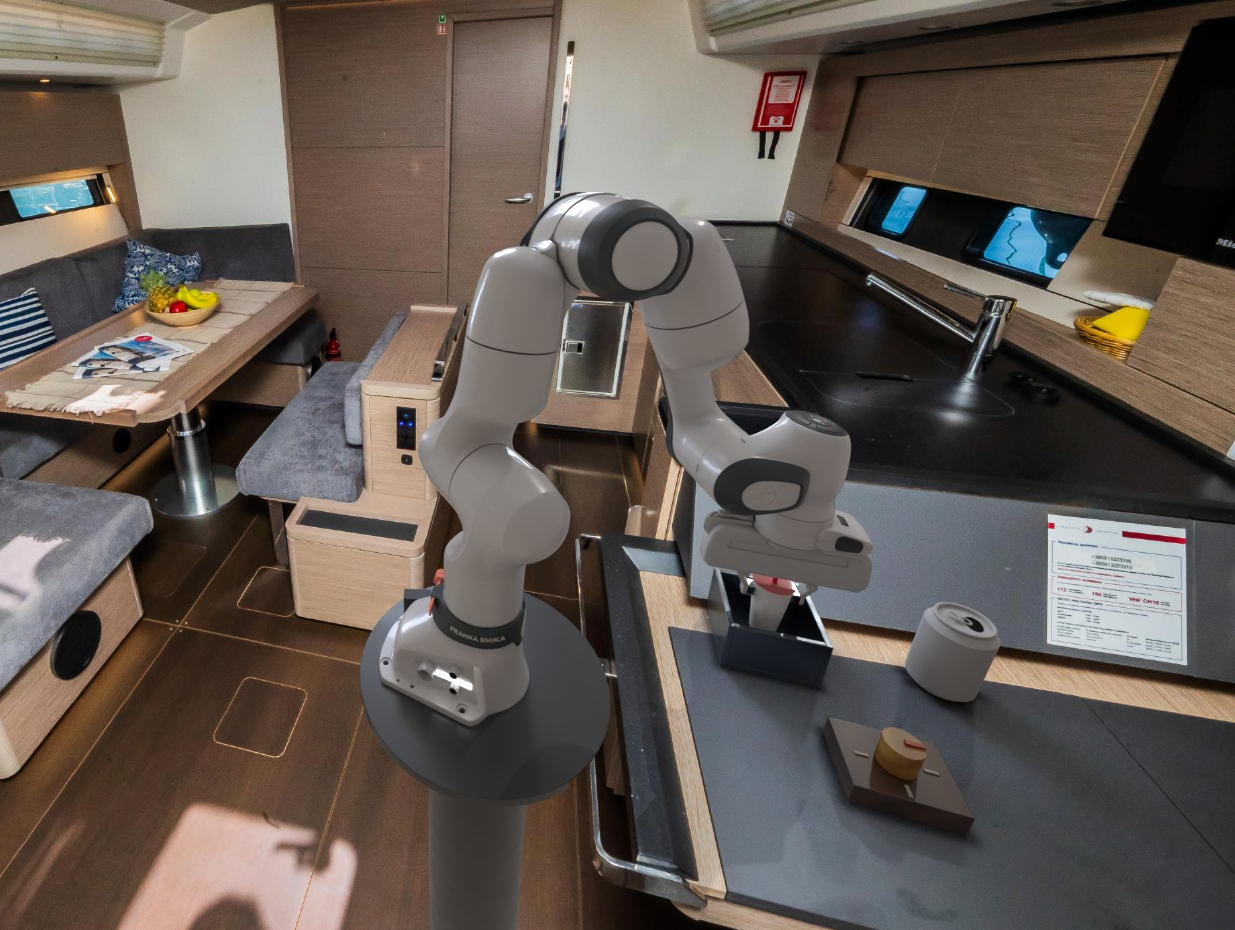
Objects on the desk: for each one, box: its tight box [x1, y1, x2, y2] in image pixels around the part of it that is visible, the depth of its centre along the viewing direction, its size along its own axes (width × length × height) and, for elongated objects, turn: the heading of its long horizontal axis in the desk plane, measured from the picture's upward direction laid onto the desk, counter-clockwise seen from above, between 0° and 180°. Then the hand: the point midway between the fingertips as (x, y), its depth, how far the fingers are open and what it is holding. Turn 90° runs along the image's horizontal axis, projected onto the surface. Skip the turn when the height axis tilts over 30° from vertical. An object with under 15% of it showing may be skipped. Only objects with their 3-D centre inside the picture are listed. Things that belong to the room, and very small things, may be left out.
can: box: [904, 601, 1002, 703], centre depth 79 cm, size 8×8×12 cm
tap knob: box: [874, 726, 927, 780], centre depth 68 cm, size 4×4×4 cm
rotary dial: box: [822, 716, 976, 836], centre depth 69 cm, size 11×9×3 cm
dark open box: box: [706, 567, 835, 690], centre depth 87 cm, size 13×13×8 cm
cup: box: [749, 574, 796, 632], centre depth 86 cm, size 5×5×12 cm
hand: (770, 596), depth 86 cm, fingers closed on cup, 5 cm apart
